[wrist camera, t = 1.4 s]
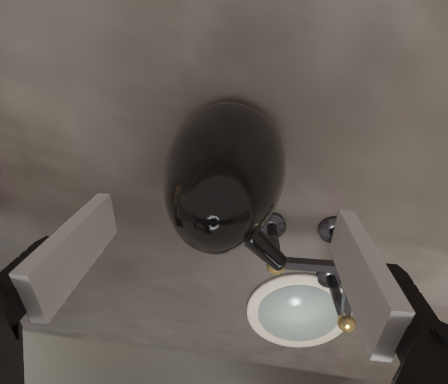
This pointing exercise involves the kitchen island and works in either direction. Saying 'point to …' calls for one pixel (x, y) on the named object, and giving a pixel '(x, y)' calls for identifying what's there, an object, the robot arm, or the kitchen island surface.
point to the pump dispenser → (225, 180)
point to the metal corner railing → (315, 267)
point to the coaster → (293, 311)
